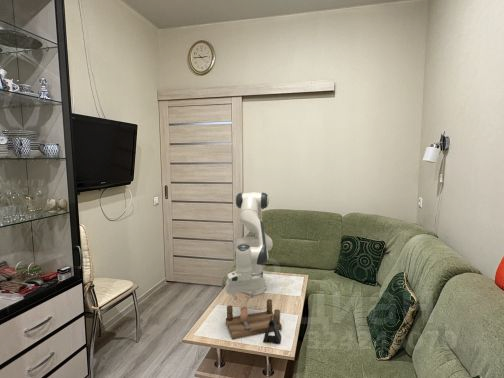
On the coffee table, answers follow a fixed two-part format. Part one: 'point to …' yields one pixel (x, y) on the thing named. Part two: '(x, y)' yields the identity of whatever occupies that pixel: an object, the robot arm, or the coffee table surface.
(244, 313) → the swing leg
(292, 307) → the coffee table surface
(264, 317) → the stool base
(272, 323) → the phone stand
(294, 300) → the coffee table surface
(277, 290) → the coffee table surface
